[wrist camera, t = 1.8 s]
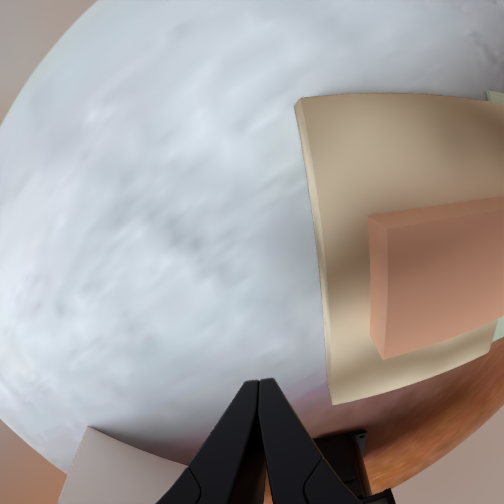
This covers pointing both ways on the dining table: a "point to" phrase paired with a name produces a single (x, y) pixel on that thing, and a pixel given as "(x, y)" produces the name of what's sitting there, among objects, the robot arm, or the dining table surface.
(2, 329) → the dining table surface
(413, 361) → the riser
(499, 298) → the tile
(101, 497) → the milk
